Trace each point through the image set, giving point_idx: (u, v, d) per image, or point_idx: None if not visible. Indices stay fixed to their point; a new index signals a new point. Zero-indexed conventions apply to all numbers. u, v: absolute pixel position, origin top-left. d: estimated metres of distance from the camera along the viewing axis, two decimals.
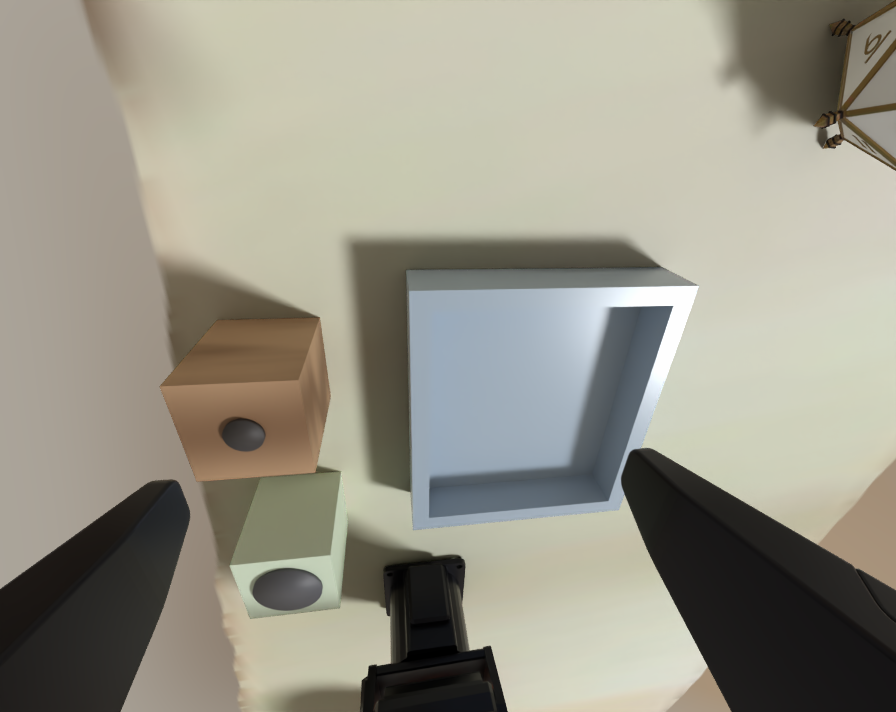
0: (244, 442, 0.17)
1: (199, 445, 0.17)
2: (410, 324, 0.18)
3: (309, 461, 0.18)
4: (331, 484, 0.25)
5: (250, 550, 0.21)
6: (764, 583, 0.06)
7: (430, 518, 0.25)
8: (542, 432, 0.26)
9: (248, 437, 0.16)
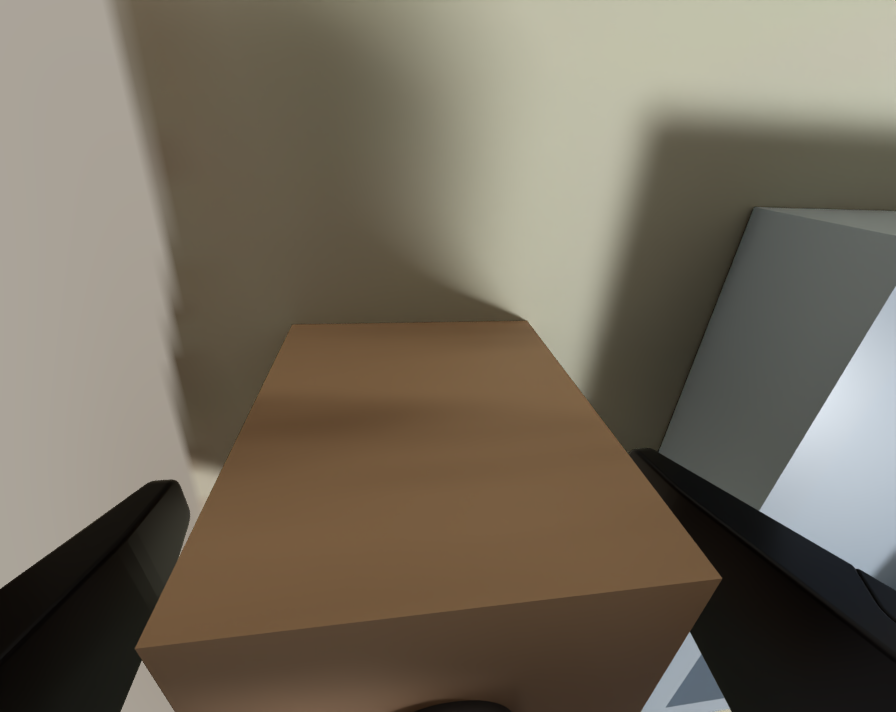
0: None
1: None
2: (857, 342, 0.07)
3: None
4: None
5: None
6: (764, 583, 0.06)
7: (666, 707, 0.13)
8: (857, 537, 0.14)
9: None
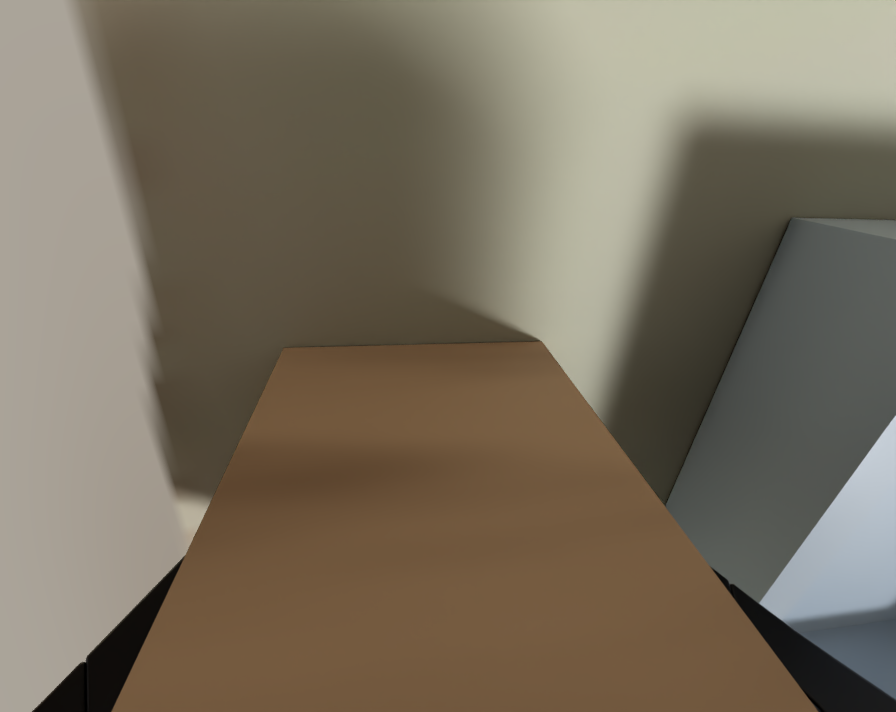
0: None
1: None
2: None
3: None
4: None
5: None
6: None
7: None
8: (883, 561, 0.13)
9: None
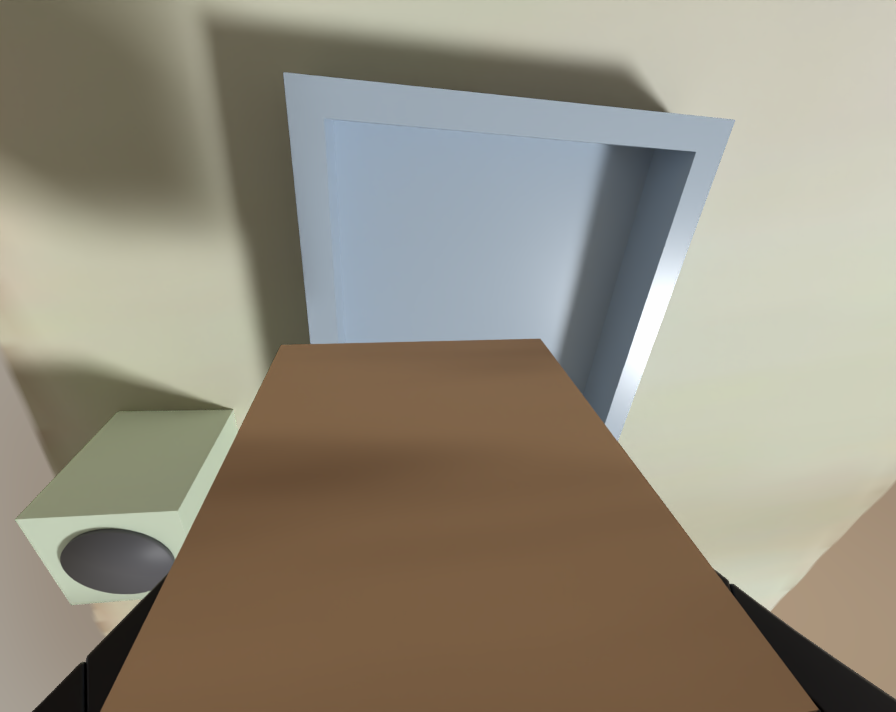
0: None
1: None
2: (291, 141, 0.12)
3: None
4: (214, 423, 0.18)
5: (58, 500, 0.14)
6: None
7: None
8: None
9: None
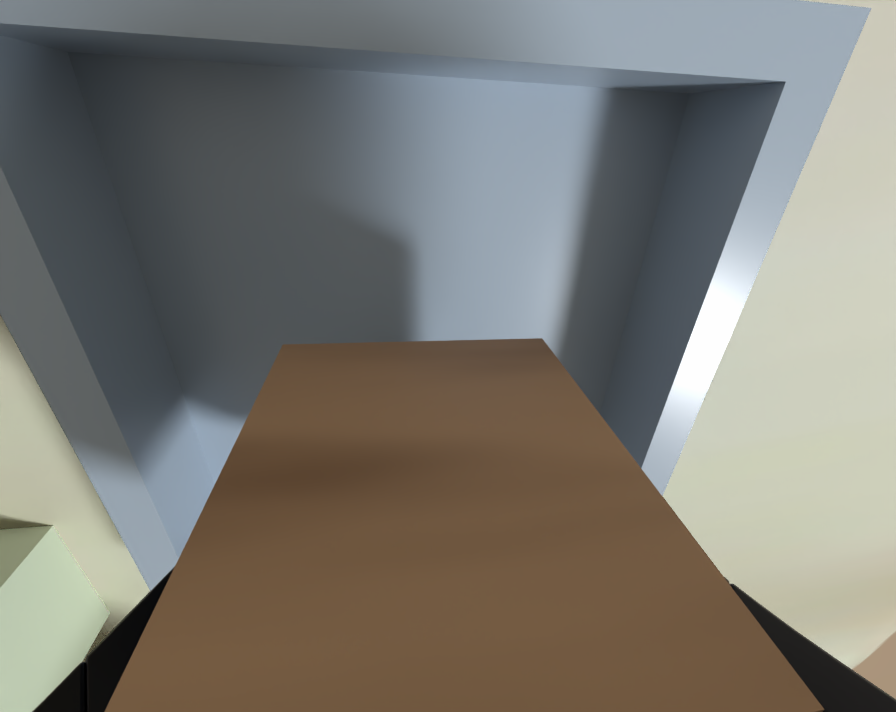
0: None
1: None
2: None
3: None
4: (9, 556, 0.12)
5: None
6: None
7: None
8: None
9: None
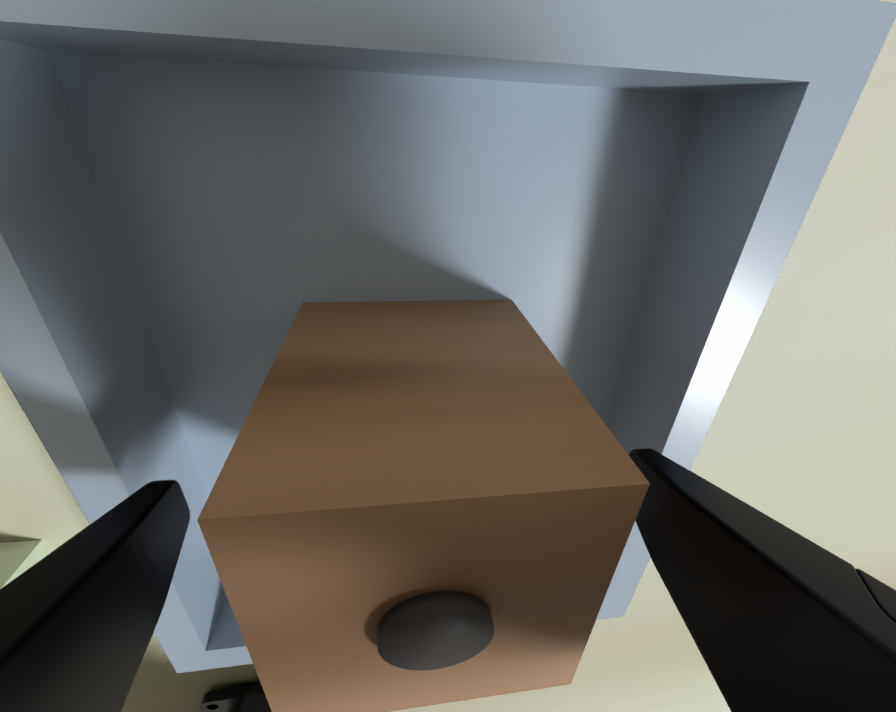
0: (435, 651, 0.06)
1: (301, 659, 0.06)
2: None
3: (568, 665, 0.07)
4: None
5: None
6: (764, 583, 0.06)
7: (210, 651, 0.11)
8: None
9: (452, 641, 0.06)
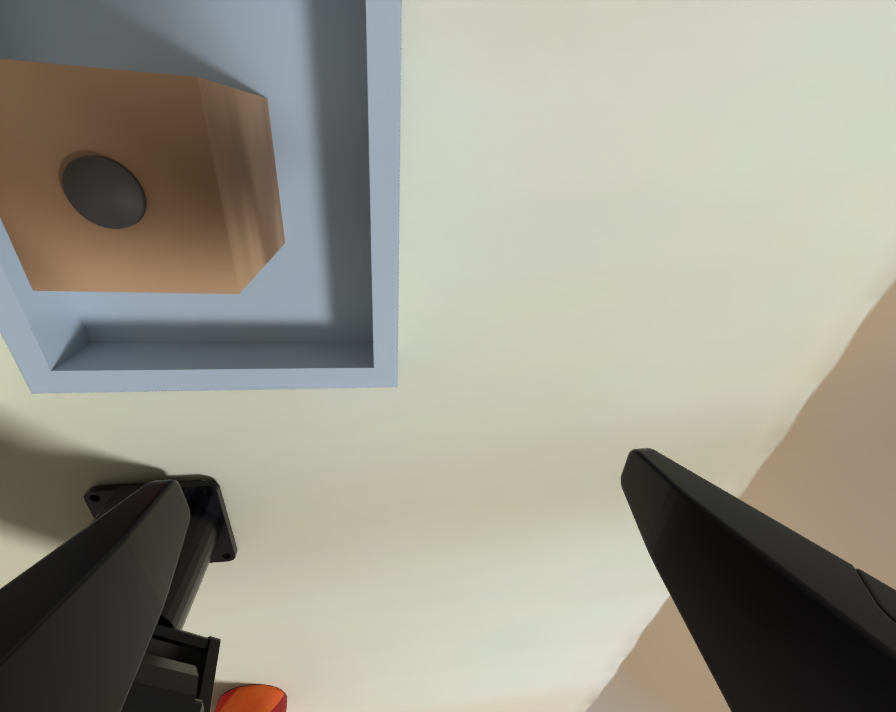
0: (106, 206, 0.10)
1: (27, 209, 0.10)
2: None
3: (227, 269, 0.11)
4: None
5: None
6: (764, 583, 0.06)
7: (55, 372, 0.15)
8: None
9: (114, 197, 0.09)
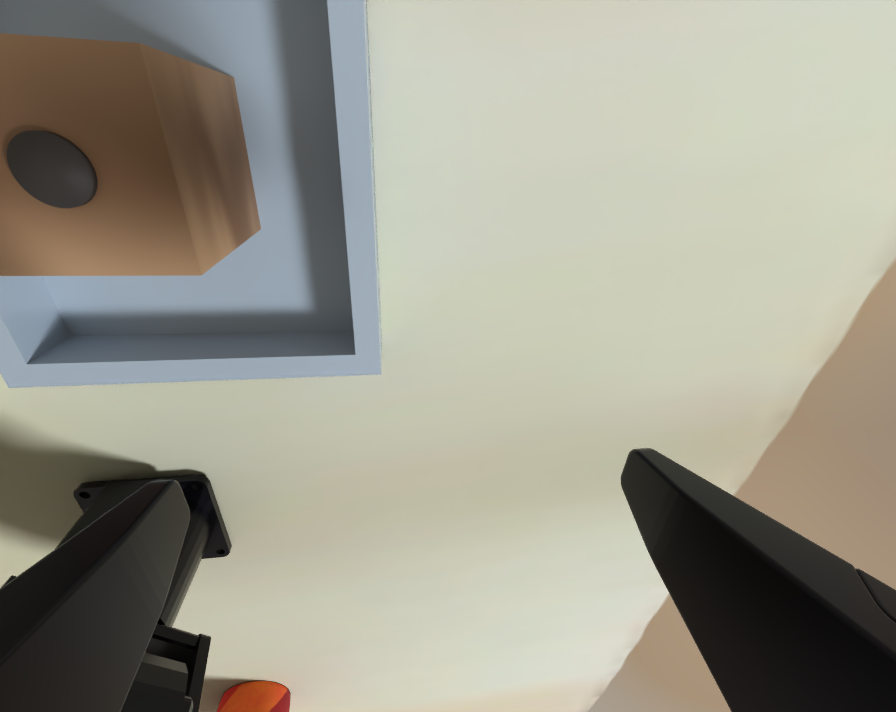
0: (54, 184, 0.09)
1: None
2: None
3: (187, 249, 0.10)
4: None
5: None
6: (764, 583, 0.06)
7: (30, 365, 0.15)
8: None
9: (62, 174, 0.09)
